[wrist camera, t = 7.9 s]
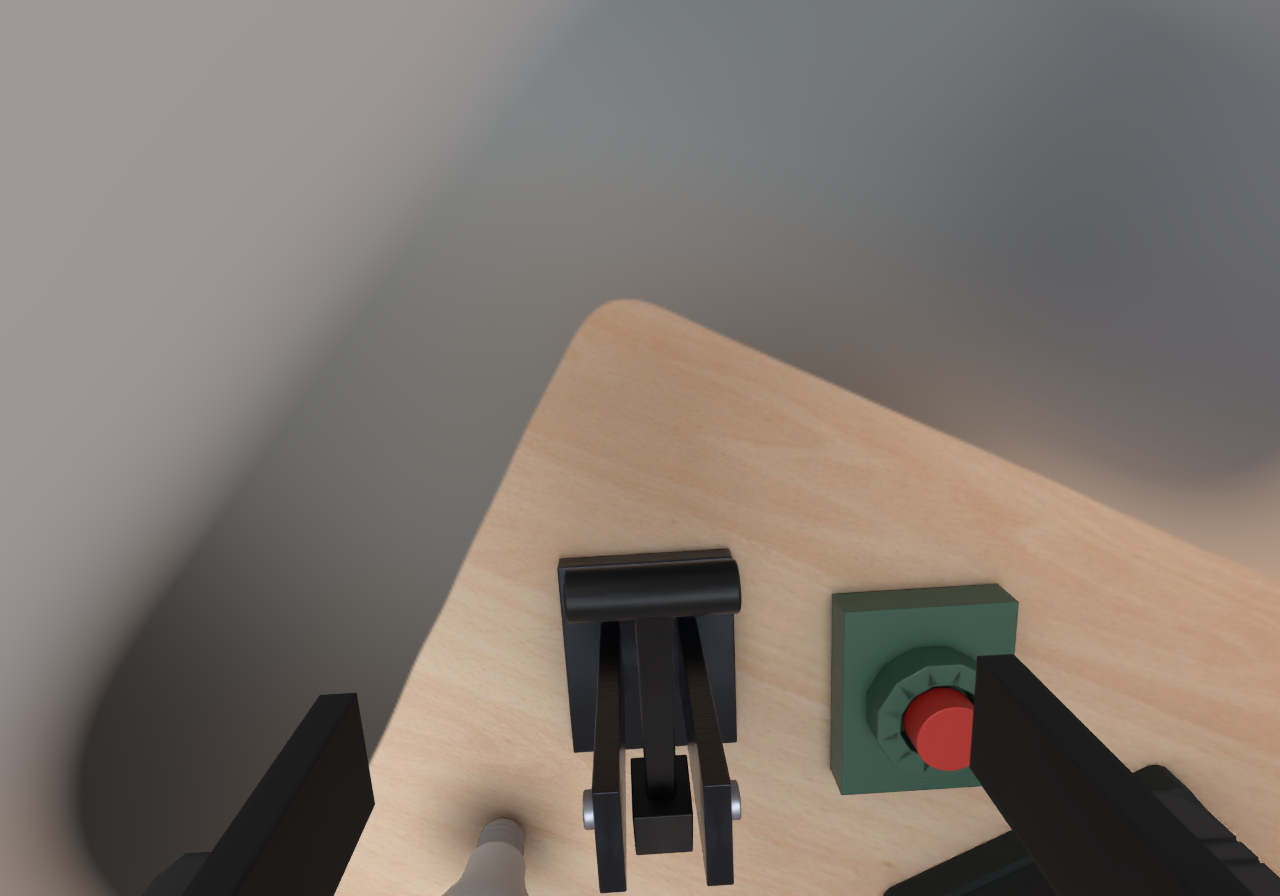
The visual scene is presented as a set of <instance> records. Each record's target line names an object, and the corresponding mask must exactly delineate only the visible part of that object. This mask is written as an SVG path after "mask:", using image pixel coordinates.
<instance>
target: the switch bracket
mask: <svg viewBox="0 0 1280 896" xmlns="http://www.w3.org/2000/svg"><path fill="white" fill-rule="evenodd" d="M724 559H732V556H731V553H730V550H729V549H716V550H700V551H683V552H667V553H651V554H634V555H618V556H601V557H585V558H569V559H560V560H559V563H558V568H557V569H558V580H559V592H560V603H561V614H562V625H563V637H564V648H565V659H566V670H567V682H568V693H569V704H570V715H571V727H572V738H573V749H574V752H575V753H577V752H592V751H594V758H593V777H592V789H589V790H584V792H583V822H584V828H585V830H592V829H595V840H596V852H597V864H598V876H599V888H600V893H611V892H625V891H626V890H627V880H626V781H625V749H639V748H643V735H642V720H641V705H640V690H639V675H638V660H637V645H636V631H635V620H621V621H605V622H589V623H573V624H570V623H568V622H567V620H566V616H565V608H564V573H565V571H566V570H567V569H577V568H594V567H610V566H626V565H643V564H659V563H675V562H692V561H708V560H724ZM672 627H673V673H674V718H675V746H686V745H688V751H689V759H690V766H691V773H692V780H693V787H694V794H695V802H696V809H697V816H698V823H699V830H700V838H701V845H702V852H703V859H704V866H705V873H706V881H707V885H708V886H718V885H733V884H734V872H733V836H732V820H740V819H741V800H740V792H739V787H738V783H737V781H736V780H730V777H729V772H728V767H727V763H726V758H725V753H724V749H723V744H722V743H733V742H737V724H736V684H735V643H734V614H718V615H702V616H686V617H672Z"/></svg>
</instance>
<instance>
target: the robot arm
mask: <svg viewBox="0 0 1280 896" xmlns="http://www.w3.org/2000/svg"><path fill="white" fill-rule="evenodd" d="M969 768H970V769H971V771H972V772H973V774H974V775H975V777H976V778H977V779H978V781H979V782H980V784H981V785H982V787H983V788H984V790H985V791H986V793H987V794H988V795H989V797H990V798H991V800H992V801H993V803H994V804H995V806H996V807H997V808H998V810H999V811H1000V813H1001V814H1002V816H1003V817H1004V819H1005V820H1006V822H1007V823H1008V824H1009V826H1010V827H1011V829H1012V830H1013V832H1014V833H1015V835H1016V836H1017V837H1018V839H1019V840H1020V842H1021V843H1022V845H1023V846H1024V848H1025V849H1026V851H1027V852H1028V853H1029V855H1030V856H1031V858H1032V859H1033V861H1034V862H1035V864H1036V865H1037V866H1038V868H1039V869H1040V871H1041V872H1042V874H1043V875H1044V877H1045V878H1046V880H1047V881H1048V882H1049V884H1050V885H1051V887H1052V888H1053V890H1054V891H1055V893H1056V894H1057V895H1058V896H1280V878H1279V877H1278V876H1277V875H1276V874H1275V873H1274V872H1273V871H1272V870H1271V869H1270V868H1269V867H1268V866H1266V865H1265V864H1264V863H1260V862H1259V860H1258V857H1257V856H1256V855H1255V854H1254V853H1253V852H1251V851H1250V850H1249V849H1248V848H1247V847H1246V846H1245V845H1244V844H1243V843H1242V842H1237V840H1236V837H1235V836H1234V835H1233V834H1232V833H1231V832H1230V831H1229V830H1228V829H1227V828H1226V827H1225V826H1224V825H1223V824H1222V823H1220V822H1219V821H1218V820H1217V819H1216V818H1215V817H1214V816H1213V815H1212V814H1211V813H1210V812H1209V811H1207V810H1205V809H1204V808H1202V807H1200V806H1199V805H1197V804H1195V803H1194V802H1192V801H1190V800H1189V799H1187V798H1185V797H1184V796H1182V795H1180V794H1179V793H1177V792H1175V791H1174V790H1168V791H1152V792H1151V791H1150V790H1149V789H1148V788H1147V787H1146V786H1145V785H1144V784H1143V783H1142V782H1141V781H1140V780H1139V779H1138V778H1137V777H1136V776H1135V775H1134V774H1133V773H1132V772H1131V771H1130V770H1129V769H1128V768H1127V767H1126V766H1125V765H1124V764H1123V763H1122V762H1121V761H1120V760H1119V759H1118V758H1117V757H1116V756H1115V755H1114V754H1113V753H1112V752H1111V751H1110V750H1109V749H1108V748H1107V747H1106V746H1105V745H1104V744H1103V743H1102V742H1101V741H1100V740H1099V739H1098V738H1097V737H1096V736H1095V735H1094V734H1093V733H1092V732H1091V731H1090V730H1089V729H1088V728H1087V727H1086V726H1085V725H1084V724H1083V723H1082V722H1081V721H1080V720H1079V719H1078V718H1077V717H1076V716H1075V715H1074V714H1073V713H1072V712H1071V711H1070V710H1069V709H1068V708H1067V707H1066V706H1065V705H1064V704H1063V703H1062V702H1061V701H1060V700H1059V699H1058V698H1057V697H1056V696H1055V695H1054V694H1053V693H1052V692H1051V691H1050V690H1049V689H1048V688H1047V687H1046V686H1045V685H1044V684H1043V683H1042V682H1041V681H1040V680H1039V679H1038V678H1037V677H1036V676H1035V675H1034V674H1033V673H1032V672H1031V671H1030V670H1029V669H1028V668H1027V667H1026V666H1025V665H1024V664H1023V663H1022V662H1021V661H1020V660H1019V659H1018V658H1017V657H1016V656H1015V655H1014V654H1002V655H985V656H977V666H976V680H975V695H974V709H973V723H972V737H971V751H970V765H969ZM374 805H375V802H374V795H373V789H372V783H371V777H370V771H369V765H368V760H367V753H366V747H365V741H364V735H363V729H362V723H361V717H360V711H359V706H358V699H357V693H347V694H329V695H320V696H319V697H318V699H317V700H316V702H315V703H314V704H313V706H312V707H311V709H310V710H309V712H308V713H307V714H306V716H305V718H304V719H303V720H302V722H301V723H300V725H299V726H298V727H297V729H296V730H295V732H294V733H293V735H292V736H291V738H290V739H289V740H288V742H287V744H286V745H285V746H284V748H283V749H282V751H281V752H280V754H279V755H278V757H277V758H276V759H275V761H274V762H273V764H272V765H271V767H270V768H269V769H268V771H267V772H266V774H265V775H264V777H263V778H262V780H261V781H260V782H259V784H258V785H257V787H256V788H255V790H254V791H253V793H252V794H251V795H250V797H249V798H248V800H247V801H246V803H245V804H244V806H243V807H242V809H241V810H240V811H239V813H238V814H237V816H236V817H235V819H234V820H233V821H232V823H231V824H230V826H229V827H228V829H227V830H226V832H225V833H224V834H223V836H222V837H221V839H220V840H219V842H218V843H217V845H216V846H215V847H214V849H213V850H212V852H203V853H187V854H184V855H183V856H182V857H181V858H179V860H177V861H176V862H175V863H174V864H172V865H171V866H170V867H169V868H167V869H166V870H165V871H164V872H162V873H161V874H160V875H159V876H158V877H156V878H155V879H154V880H153V882H152V883H151V884H150V886H149V887H148V888H147V890H146V891H145V892H144V894H143V895H142V896H334V894H335V892H336V889H337V887H338V885H339V883H340V880H341V878H342V876H343V874H344V872H345V869H346V867H347V865H348V863H349V861H350V858H351V856H352V854H353V852H354V849H355V847H356V845H357V843H358V841H359V838H360V836H361V834H362V832H363V830H364V827H365V825H366V823H367V821H368V818H369V816H370V814H371V812H372V810H373V807H374Z"/></svg>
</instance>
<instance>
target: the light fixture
mask: <svg viewBox="0 0 1280 896" xmlns="http://www.w3.org/2000/svg"><path fill="white" fill-rule="evenodd" d="M1134 775H1135V776H1136V777H1137V778H1138V779H1139V780H1140V781H1141V782H1142V783H1143V784H1144V785H1145V786H1146V787H1147V788H1148V789H1149V790H1150V791H1151V792H1152V791H1168V790H1174V791H1175V792H1177V793H1179V794H1180V795H1182V796H1184V797H1185V798H1187V799H1189V800H1190V801H1192V802H1194V803H1195V804H1197V805H1199V806H1200V807H1202V808H1204V809H1205V810H1206V808H1205V807H1204V806H1203V805H1202V804H1201V803H1200V801H1199V800H1198V799H1197V798H1196V797H1195V796H1194V794H1193V793H1192V792H1191V791H1190V790H1189V789H1188V788H1187V787H1186V786H1185V785H1184V784H1183V783H1181V782H1180V781H1179V780H1178V779H1177V778H1176V777H1175V776H1174V775H1173V774H1172V773H1171V772H1170V771H1169V770H1168V769H1166V768H1164V767H1162V766H1159V765H1156V766H1149V767H1147V768H1144V769H1142V770H1140V771H1138V772H1136V773H1134ZM884 896H1058V895H1057V894H1056V893H1055V891H1054V890H1053V888H1052V887H1051V885H1050V884H1049V882H1048V881H1047V880H1046V878H1045V877H1044V875H1043V874H1042V872H1041V871H1040V869H1039V868H1038V866H1037V865H1036V864H1035V862H1034V861H1033V859H1032V858H1031V856H1030V855H1029V853H1028V852H1027V851H1026V849H1025V848H1024V846H1023V845H1022V843H1021V842H1020V840H1019V839H1018V837H1017V836H1016V835H1015V833H1014V832H1013V831H1011V832H1008V833H1006V834H1004V835H1002V836H1000V837H998V838H996V839H994V840H991V841H989V842H987V843H985V844H983V845H981V846H979V847H977V848H974V849H972V850H970V851H968V852H966V853H964V854H962V855H960V856H957V857H955V858H953V859H951V860H949V861H947V862H945V863H943V864H940V865H938V866H936V867H934V868H932V869H930V870H928V871H926V872H923V873H921V874H919V875H917V876H915V877H913V878H911V879H909V880H906V881H904V882H902V883H900V884H898V885H896V886H894V887H892V888H889V889H888V891H887V892H886V893H885V894H884Z"/></svg>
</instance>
